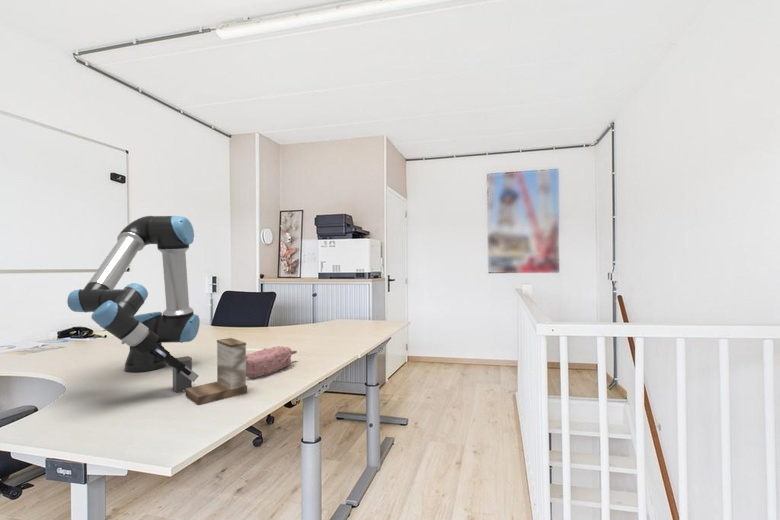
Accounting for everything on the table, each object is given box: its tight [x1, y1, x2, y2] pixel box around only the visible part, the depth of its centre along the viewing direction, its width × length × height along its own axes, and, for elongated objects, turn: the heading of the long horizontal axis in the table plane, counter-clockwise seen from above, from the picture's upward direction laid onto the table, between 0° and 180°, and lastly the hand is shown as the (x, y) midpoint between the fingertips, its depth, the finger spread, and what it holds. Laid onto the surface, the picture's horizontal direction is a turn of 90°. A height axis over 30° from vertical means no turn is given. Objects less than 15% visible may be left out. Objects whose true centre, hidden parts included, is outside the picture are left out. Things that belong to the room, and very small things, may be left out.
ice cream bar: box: [246, 345, 298, 379], centre depth 161 cm, size 13×9×30 cm
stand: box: [184, 337, 248, 406], centre depth 131 cm, size 16×12×17 cm
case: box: [172, 355, 193, 393], centre depth 137 cm, size 5×4×11 cm
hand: (193, 377), depth 139 cm, fingers closed on case, 4 cm apart
